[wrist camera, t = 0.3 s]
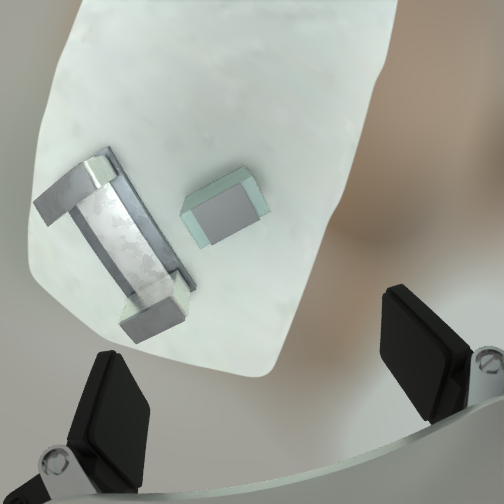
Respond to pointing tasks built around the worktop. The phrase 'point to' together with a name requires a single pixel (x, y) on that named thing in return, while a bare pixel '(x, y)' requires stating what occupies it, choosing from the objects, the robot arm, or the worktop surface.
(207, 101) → the worktop surface
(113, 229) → the grey blocky piece
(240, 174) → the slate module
